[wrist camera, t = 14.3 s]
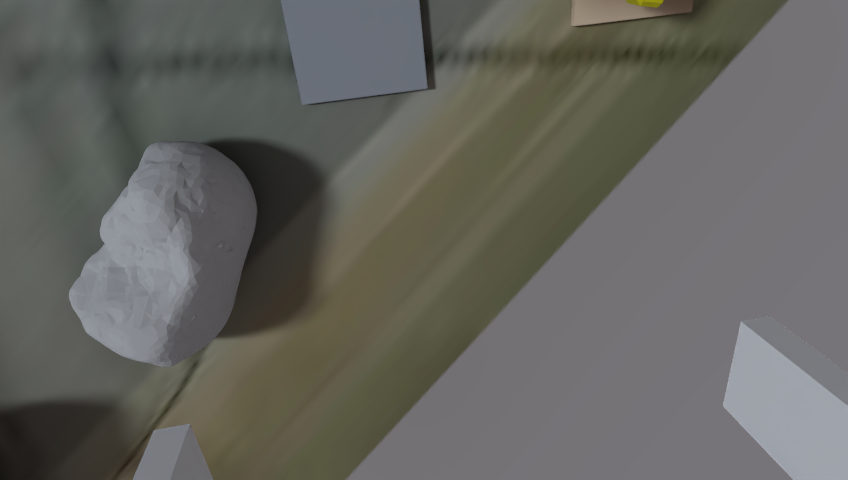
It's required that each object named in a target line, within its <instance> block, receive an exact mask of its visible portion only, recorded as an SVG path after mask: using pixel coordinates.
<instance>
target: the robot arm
mask: <svg viewBox="0 0 848 480" xmlns="http://www.w3.org/2000/svg"><path fill="white" fill-rule="evenodd" d="M723 407H724V408H725V409H726V410H727V411H728V412H729V413H730V414H731V415H732V416H733V417H734V418H735V419H736V420H737V421H738V422H739V423H740V424H741V425H742V426H743V428H744V429H745V430H746V431H747V432H748V433H749V434H750V435H751V436H752V437H753V438H754V439H755V440H756V441H757V442H758V443H759V444H760V445H761V446H762V447H763V448H764V450H765V451H766V452H767V453H768V454H769V455H770V456H771V457H772V458H773V459H774V460H775V461H776V462H777V463H778V464H779V465H780V466H781V467H782V468H783V469H784V470H785V472H786V473H787V474H788V475H789V476H790V477H791V478H792V479H793V480H848V373H847V372H846V371H845V370H843V369H842V368H840V367H839V366H838V365H836V364H835V363H834V362H832V361H831V360H829V359H828V358H827V357H825V356H824V355H822V354H821V353H819V352H818V351H817V350H816V349H814V348H813V347H811V346H810V345H809V344H807V343H806V342H804V341H803V340H802V339H800V338H799V337H798V336H796V335H795V334H794V333H792V332H790V331H789V330H788V329H787V328H785V327H784V326H783V325H781V324H780V323H778V322H777V321H776V320H774V319H773V318H772V317H770V316H768V317H763V318H757V319H753V320H747V321H741V324H740V329H739V333H738V338H737V343H736V347H735V352H734V356H733V361H732V366H731V370H730V375H729V380H728V384H727V389H726V394H725V399H724V403H723ZM133 480H213V478H212V476H211V473H210V471H209V469H208V466H207V464H206V461H205V459H204V457H203V454H202V452H201V449H200V447H199V444H198V442H197V440H196V437H195V435H194V432H193V430H192V428H191V425H190V424H186V425H180V426H175V427H169V428H164V429H159V430H154V431H153V434H152V436H151V438H150V441H149V443H148V445H147V447H146V450H145V452H144V454H143V457H142V459H141V461H140V464H139V466H138V468H137V471H136V473H135V475H134V478H133Z"/></svg>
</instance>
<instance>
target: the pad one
mask: <svg viewBox="0 0 848 480" xmlns="http://www.w3.org/2000/svg"><path fill="white" fill-rule="evenodd" d="M281 4H282V9H283V14H284V19H285V24H286V29H287V34H288V39H289V44H290V48H291V53H292V58H293V63H294V68H295V73H296V78H297V83H298V88H299V93H300V98H301V102H302V105H305V104H313V103H321V102H328V101H336V100H344V99H352V98H359V97H367V96H375V95H382V94H390V93H398V92H406V91H413V90H421V89H428V88H427V78H426V67H425V56H424V46H423V35H422V24H421V14H420V3H419V0H281Z"/></svg>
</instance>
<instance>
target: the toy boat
mask: <svg viewBox="0 0 848 480" xmlns="http://www.w3.org/2000/svg"><path fill="white" fill-rule="evenodd" d="M626 2H627V3H629V4H633V5H638V6H645V7H655V8H657V7H658V6H660V5H661V4H663V2H664V0H626Z"/></svg>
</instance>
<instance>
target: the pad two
mask: <svg viewBox="0 0 848 480" xmlns="http://www.w3.org/2000/svg"><path fill="white" fill-rule="evenodd" d="M692 7H693V0H664V2H663V4H661V5H660V6H658V7H657V8H655V7H645V6H638V5H633V4H629V3H627V2H626V0H572V9H571V26H580V25H588V24H596V23H604V22H613V21H621V20H629V19H637V18H646V17H654V16H662V15H671V14H679V13H687V12H692Z"/></svg>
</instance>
